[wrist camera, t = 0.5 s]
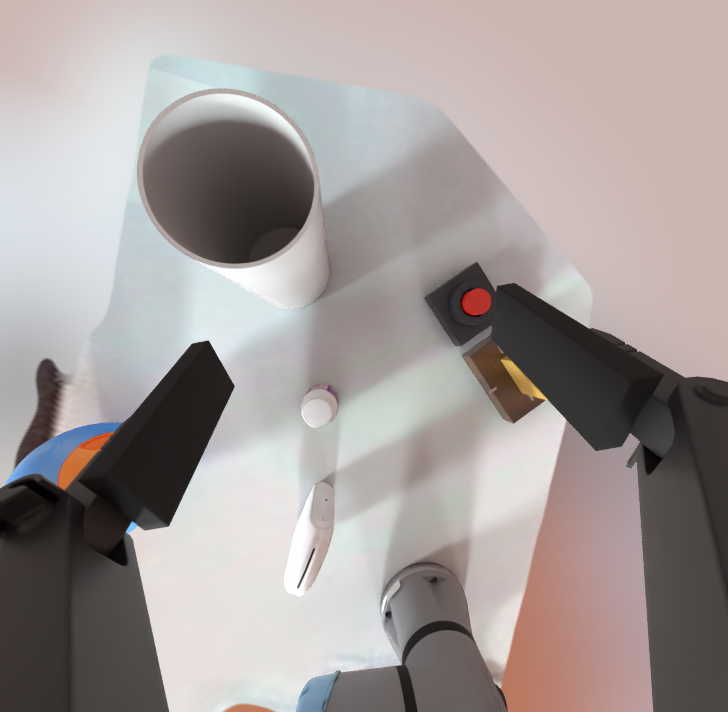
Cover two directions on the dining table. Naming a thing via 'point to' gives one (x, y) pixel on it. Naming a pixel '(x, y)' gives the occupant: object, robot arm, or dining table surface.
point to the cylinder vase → (238, 193)
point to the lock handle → (522, 380)
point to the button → (476, 301)
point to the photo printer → (310, 539)
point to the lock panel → (499, 381)
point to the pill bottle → (319, 405)
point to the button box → (450, 308)
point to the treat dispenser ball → (66, 455)
